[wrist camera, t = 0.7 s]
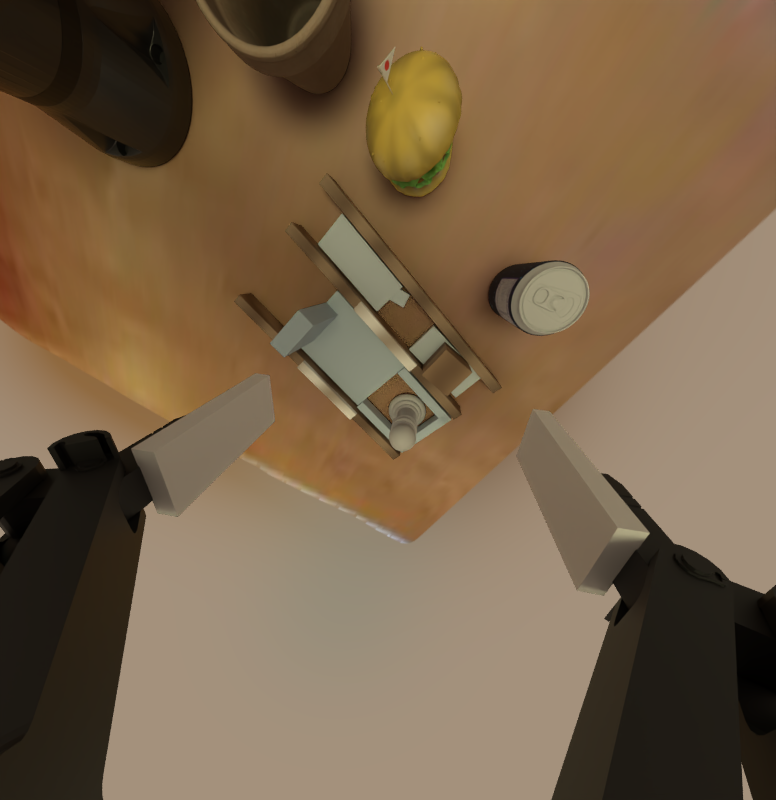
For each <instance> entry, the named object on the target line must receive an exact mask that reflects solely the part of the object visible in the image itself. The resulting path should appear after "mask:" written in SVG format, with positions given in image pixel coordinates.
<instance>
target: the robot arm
mask: <svg viewBox="0 0 776 800" xmlns="http://www.w3.org/2000/svg"><path fill="white" fill-rule="evenodd" d="M0 91H2V92H5V93H7V94H10V95H12V96H14V97H17V98H19V99H21V100H24V101H26V102H28V103H31V104H33V105H35V106H37V107H38V108H40V109H41V110H42V111H44V112H45V113H47V114H48V115H49V116H51V117H52V118H54V119H55V120H57V121H58V122H59V123H61V124H62V125H64V126H65V127H66V128H68V129H69V130H71V131H72V132H74V133H75V134H76V135H78V136H79V137H81V138H82V139H83V140H85V141H86V142H88V143H89V144H90V145H92V146H93V147H95V148H96V149H98V150H100V151H101V152H103V153H105V154H107V155H109V156H111V157H114V158H116V159H119V160H122V161H124V162H127V163H130V164H133V165H136V166H141V167H153V166H158V165H161V164H163V163H165V162H167V161H168V160H170V159H171V158H172V157H173V156H174V155H175V154H176V153H177V152H178V150H179V149H180V147H181V146H182V144H183V142H184V139H185V137H186V134H187V131H188V127H189V123H190V117H191V104H192V97H191V83H190V76H189V71H188V66H187V62H186V58H185V55H184V51H183V48H182V45H181V43H180V40H179V38H178V35H177V33H176V31H175V28H174V26H173V24H172V22H171V20H170V19H169V17H168V15H167V13H166V12H165V10H164V8H163V7H162V5H161V4H160V2H159V1H158V0H0ZM274 422H275V416H274V408H273V400H272V392H271V384H270V376H269V375H264V374H256V373H255V374H254V375H252V376H250V377H249V378H247V379H245V380H244V381H242V382H240V383H239V384H237V385H235V386H234V387H232V388H231V389H229V390H227V391H226V392H224V393H222V394H221V395H219V396H217V397H216V398H214V399H212V400H211V401H209V402H207V403H206V404H204V405H202V406H201V407H199V408H197V409H196V410H194V411H192V412H191V413H189V414H187V415H185V416H182V417H180V418H177V419H174V420H173V421H171V422H169V423H168V424H166V425H165V426H163V428H159V429H158V430H156V431H154V433H153V434H152V433H151V434H149V435H147V436H146V437H144V438H142V439H141V440H139V441H137V442H136V443H134V444H132V445H131V446H129V447H127V448H125V449H124V450H122V451H120V452H118V450H117V448H116V445H115V443H114V441H113V439H112V436H111V434H110V433H109V432H107V431H102V430H94V431H85V432H81V433H77V434H73V435H70V436H67V437H65V438H62V439H60V440H58V441H56V442H55V443H53V444H52V445H51V446H49V447H48V450H49V452H50V454H51V456H52V457H53V459H54V461H55V463H56V464H57V466H58V468H57V469H45V468H44V467H43V465H42V464H41V462H40V460H39V459H38V458H36V457H33V456H23V457H17V458H9V459H5V460H4V461H3V460H1V461H0V527H1V528H2V529H3V531H4V532H5V534H4V535H3V536H2V537H1V538H0V800H103V797H102V780H103V773H104V767H105V760H106V754H107V749H108V742H109V736H110V730H111V724H112V717H113V712H114V706H115V700H116V694H117V688H118V682H119V676H120V670H121V664H122V658H123V651H124V645H125V640H126V633H127V628H128V621H129V616H130V610H131V604H132V598H133V591H134V586H135V580H136V573H137V567H138V562H139V556H140V549H141V543H142V537H143V531H144V525H145V519H146V514H145V511H144V509H143V508H144V507H145V506H147V505H148V504H149V503H150V502H151V501H153V503H154V505H155V508H156V510H157V513H159V514H165V515H170V516H176V517H178V516H179V515H180V514H181V513H182V512H183V511H184V510H185V509H186V508H187V507H188V506H189V505H190V504H191V503H193V502H194V500H196V498H198V497H199V496H200V494H202V493H203V492H204V491H205V490H206V489H207V488H208V487H209V486H210V485H211V484H212V483H213V482H214V481H215V480H216V479H217V478H218V477H219V476H220V475H221V474H222V473H223V472H224V471H225V470H226V469H227V468H228V467H229V466H230V465H231V464H232V463H233V462H234V461H235V460H236V459H237V458H238V457H239V456H240V455H241V454H242V453H243V452H244V451H245V450H246V449H247V448H248V447H249V446H250V445H251V444H252V443H253V442H254V441H255V440H256V439H257V438H258V437H259V436H260V435H262V434H263V433H264V432H265V431H266V430H267V429H268V428H269V427H270V426H271V425H272V424H273V423H274ZM516 456H517V458H518V461H519V463H520V465H521V468H522V470H523V472H524V474H525V476H526V478H527V481H528V483H529V485H530V487H531V490H532V492H533V494H534V496H535V499H536V501H537V503H538V505H539V507H540V510H541V512H542V514H543V516H544V519H545V520H546V523H547V525H548V527H549V530H550V532H551V534H552V536H553V539H554V541H555V543H556V545H557V547H558V550H559V552H560V554H561V556H562V559H563V561H564V563H565V565H566V567H567V570H568V572H569V574H570V576H571V578H572V580H573V583H574V585H575V587H576V590H577V591H582V592H587V593H592V594H598V595H605V593H606V592H607V591H608V589H609V588H610V586H611V585H612V584H614V585H615V587H616V589H617V591H618V592H619V594H620V596H621V598H620V599H619V600H618V602H617V603H616V604H615V606H614V607H613V608H612V609H611V611H610V612H609V613H608V614H607V616H606V617H605V619H606V620H607V621H610V623H609V626H608V629H607V632H606V635H605V638H604V641H603V644H602V647H601V650H600V653H599V657H598V660H597V663H596V666H595V669H594V672H593V675H592V678H591V681H590V684H589V687H588V690H587V693H586V696H585V699H584V702H583V705H582V708H581V712H580V714H579V718H578V720H577V724H576V727H575V729H574V733H573V736H572V739H571V742H570V745H569V748H568V751H567V754H566V757H565V760H564V763H563V766H562V769H561V772H560V776H559V778H558V781H557V784H556V787H555V791H554V794H553V797H552V800H743V787H742V768H741V762H742V765H743V768H744V772H745V775H746V778H747V782H748V785H749V788H750V792H751V795H752V798H753V800H776V585H775V586H774V587H773V588H772V589H771V590H769V591H768V592H767V593H766V594H763V593H760V592H757V591H755V590H752V589H750V588H747V587H744V586H742V585H739V584H737V583H734V582H731V581H730V580H729V579H728V578H727V577H726V576H725V574H724V573H723V572H722V571H721V570H720V569H719V568H718V567H717V566H715V565H714V564H713V563H712V562H710V561H709V560H708V559H706V558H705V557H703V556H701V555H700V554H698V553H697V552H695V551H693V550H690V549H688V548H686V547H683V546H681V545H676V544H674V543H673V542H672V541H671V540H670V539H669V537H668V536H667V535H666V534H665V533H664V532H663V531H662V529H661V528H660V527H659V526H658V525H657V524H656V523H655V522H654V520H653V519H652V518H651V517H650V516H649V515H648V514H647V512H646V511H645V510H644V509H641V506H640V505H639V503H638V502H637V501H636V500H635V499H633V498H632V495H631V494H630V493H629V492H628V491H627V490H626V489H625V487H624V486H623V485H622V484H620V483H619V482H618V481H616V480H615V479H614V478H612V477H611V476H609V475H608V474H602V473H600V472H599V471H598V469H597V468H596V467H595V466H594V465H593V463H592V462H591V461H590V460H589V458H588V457H587V456H586V455H585V454H584V452H583V451H582V450H581V449H580V448H579V446H578V445H577V444H576V443H575V442H574V440H573V439H572V438H571V437H570V435H569V434H568V433H567V432H566V430H564V428H563V427H562V426H561V424H560V423H559V422H558V421H557V420H556V418H555V417H554V416H553V415H552V413H551V412H550V411H544V410H536V409H533V410H532V413H531V416H530V418H529V421H528V424H527V427H526V430H525V433H524V435H523V438H522V441H521V444H520V447H519V450H518V452H517V455H516Z"/></svg>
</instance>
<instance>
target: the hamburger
mask: <svg viewBox="0 0 776 800" xmlns="http://www.w3.org/2000/svg"><path fill="white" fill-rule="evenodd" d="M394 51H395V47H394V49H393V50H392V51H391V52H390V53H389V55H388V56H387V57H386V58H385V60H384V61H383V62H382V63H381V64H380V66H379V65H378V66H377V68H378V70H379V71H380V73H381V75H382V77H381V79H380V80H379V82H378V84H377V86H375V90H374V92H373V94H372V95H371V101H370V104H369V108H368V113H367V118H366V140H367V145H368V149H369V153H370V155H371V158H372V160H373V162H374V164H375V165H376V167H377V169H378V170H379V171H380V172H381V173H382V174H383V175H384V177H385V178H387V179H389V180H390V182H391V184H393V185H394V187H395V188H396V190H397V191H399V192H401V193H403V194H404V195H408V196H412V197H416V196H418V197H422V196H424V195H426V194H429V193H431V192H432V191H433V189H435V188H436V187H437V186H438V185H439V184H440V183H441V182H442V181H443V180H444V178H445V176H446V172H447V170H448V169H449V164H450V159H451V153H452V146H453V143H452V141H453V138H454V135H455V132H456V129H457V126H458V122H459V119H460V116H461V104H462V94H461V90H460V88H459V83H458V79H457V76H456V75H455V73H454V71H453V69H452V68H451V66H450V64H449V63H448V62H447V61H446V60H445V59H444V58H443V57H441V56H440V55H438V54H437V53H436V52H435V53H434V52H432V51H425V50H423V47H421V48H420V51H414V52H411V53H408V54H406V55H404V56H402V57H401V58H400V59H398V60H397V61H395V62H394V63H393V64H392V59H393V55H394ZM391 64H392V65H391Z"/></svg>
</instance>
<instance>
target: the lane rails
mask: <svg viewBox="0 0 776 800" xmlns="http://www.w3.org/2000/svg"><path fill="white" fill-rule="evenodd" d="M319 184H320V185H321V186H322V187H323V189H324V190H325V191H326V192H327V194H328V195H329V196H330V197H331V198H332V200H333V201H334V202H335V203H336V204H337V206H338V207H339V208H340V209H341V210H342V212H343V213H344V214H345V215H346V216H347V218H348V219H349V220H350V221H351V223H352V224H353V225H354V226H355V227H356V229H357V230H358V231H359V232H360V233H361V235H362V236H363V237H364V238H365V239H366V241H367V242H368V243H369V244H370V245H371V247H372V248H373V249H374V250H375V251H376V253H377V254H378V255H379V256H380V258H381V259H382V260H383V261H384V262H385V264H386V265H387V266H388V267H389V268H390V270H391V271H392V272H393V273H394V274H395V276H396V277H397V278H398V279H399V280H400V282H401V283H402V284H403V285H404V286H405V288H406V289H407V290H408V291H409V293H410V294H411V295H412V296H413V297H414V299H415V300H416V301H417V302H418V303H419V305H420V306H421V307H422V308H423V309H424V311H425V312H426V313H427V314H428V315H429V317H430V318H431V319H432V320H433V322H434V323H435V324H436V325H437V326H438V328H439V329H440V330H441V331H442V332H443V334H444V335H445V336H446V337H447V338H448V340H449V341H450V342H451V343H452V344H453V346H454V347H455V348H456V349H457V350H458V352H459V353H460V354H461V355H462V357H463V358H464V359H465V360H466V361H467V363H468V364H469V365H470V366H471V367H472V369H473V370H474V371H475V372H476V373H477V375H478V376H479V377H480V378H481V379H482V381H483V382H484V383H485V384H486V386H487V387H488V388H489V389H490V390H491V392H492V393H495V392H496V391H498V390H499V389H501V386H500V384H499V383H498V381H497V380H496V378H495V377H494V376H493V375H492V373H491V372H490V371H489V370H488V369H487V367H486V366H485V365H484V364H483V362H482V361H481V360H480V359H479V357H478V356H477V355H476V354H475V353H474V351H473V350H472V349H471V348H470V346H469V345H468V344H467V343H466V341H465V340H464V339H463V338H462V337H461V335H460V334H459V333H458V332H457V330H456V329H455V328H454V327H453V325H452V324H451V323H450V322H449V321H448V319H447V318H446V317H445V316H444V314H443V313H442V312H441V311H440V309H439V308H438V307H437V306H436V305H435V303H434V302H433V301H432V300H431V298H430V297H429V296H428V295H427V293H426V292H425V291H424V290H423V289H422V287H421V286H420V285H419V284H418V282H417V281H416V280H415V279H414V277H413V276H412V275H411V274H410V273H409V271H408V270H407V269H406V268H405V266H404V265H403V264H402V263H401V261H400V260H399V259H398V258H397V257H396V255H395V254H394V253H393V252H392V250H391V249H390V248H389V247H388V245H387V244H386V243H385V242H384V241H383V239H382V238H381V237H380V236H379V234H378V233H377V232H376V231H375V229H374V228H373V227H372V226H371V225H370V223H369V222H368V221H367V220H366V218H365V217H364V216H363V215H362V213H361V212H360V211H359V210H358V208H357V207H356V206H355V205H354V204H353V202H352V201H351V200H350V199H349V197H348V196H347V195H346V194H345V192H344V191H343V190H342V189H341V188H340V186H339V185H338V184H337V183H336V181H335V180H334V179H333V178H332V177H330V176H329V175H328V174H327V173H326V175H325V176H324V177H323V179H322V180H321V182H320V183H319ZM285 232H286V233H287V234H288V235H289V236H290V237H291V238H292V239H293V240H294V242H295V243H296V244H297V245H298V246H299V247H300V248H301V249H302V251H303V252H304V253H305V254H306V255H307V256H308V257H309V258H310V259H311V261H312V262H313V263H314V264H315V265H316V266H317V267H318V268H319V270H320V271H321V272H322V273H323V274H324V275H325V276H326V277H327V278H328V280H329V281H330V282H331V283H332V284H333V285H334V286H335V287H336V288H337V290H338V291H339V292H340V293H341V294H342V295H343V296H344V297H345V299H346V300H347V301H348V302H349V303H350V304H351V305H352V306H353V307H354V309H353V310H354V311H355V312H356V313H357V314H358V315H359V316H360V318H361V319H362V320H363V321H364V322H365V323H366V324H367V325H368V326H369V328H370V329H371V330H372V331H373V332H374V333H375V334H376V335H377V337H378V338H379V339H380V340H381V341H382V342H383V343H384V344H385V345H386V347H387V348H388V349H389V350H390V351H391V352H392V353H393V354H394V355H395V357H396V358H397V359H398V360H399V361H400V362H401V363H402V364H403V365H404V367H405V368H406V369H407V370H408V371H409V372H410V371H411V372H412V373H413V374H414V376H415V377H416V378H417V379H418V380H419V381H420V382H421V383H422V384H423V386H424V387H425V388H426V389H427V390H428V391H429V392H430V393H431V394H432V396H433V397H434V398H435V399H436V400H437V401H438V402H439V403H440V405H441V406H442V407H443V408H444V409H445V410H446V411H447V412H448V413H449V415H450V416H451V417H452V418H453V419H456V418H457V417H459V416H460V415H461V410H460V406H459V405H458V404H457V403H456V401H455V400H454V399H453V398H452V397H451V396H450V395H448V396H446V395H445V394H443V393H442V392H441V391H440V390H439V389H438V388H436V387H435V386H434V385H433V384H432V383H431V382H429V381H428V380H427V379H426V378H425V377H423V376H422V369H423V364H422V363H421V362H420V360H419V359H418V358H417V357H416V356H415V355H414V354H413V353H412V352H411V351H410V350H409V348H408V347H407V346H406V344H405V343H404V342H403V341H402V340H401V339H400V338H399V336H398V335H397V334H396V333H395V332H394V331H393V330H392V328H391V327H390V326H389V325H388V324H387V323H386V322H385V320H384V319H383V318H382V317H381V316H380V315H379V314H378V312H377V311H376V310H375V309H374V308H373V307H372V306H371V304H370V303H369V302H368V301H367V300H366V299H365V298H364V297H363V295H362V294H361V293H360V292H359V291H358V290H357V289H356V287H355V286H354V285H353V284H352V283H351V282H350V281H349V279H348V278H347V277H346V276H345V275H344V274H343V273H342V271H341V270H340V269H339V268H338V267H337V266H336V265H335V263H334V262H333V261H332V260H331V259H330V258H329V257H328V255H327V254H326V253H325V252H324V251H323V250H322V249H321V247H320V246H319V245H318V244H317V243H316V242H315V241H314V239H313V238H312V237H311V236H310V235H309V234H308V233H307V231H306V230H305V229H304V228H303V227H302V226H301V225H298V224H295V223H293V222H291V223H290V225H289V226H288V228H287V229H286V230H285ZM234 302H235V303H236V304H237V305H238V306H239V307H240V308H241V309H242V310H243V311H244V312H245V313H246V314H247V315H248V316H249V317H250V318H251V319H252V320H253V321H254V322H255V323H256V324H257V325H258V326H259V327H260V328H261V329H262V330H263V331H264V332H265V333H266V334H267V335H268V336H269V337H270V338H271V339H272V340H273V339H274V338H275V337H276V336H277V334H278V333H279V332H280V331H281V330H282V329H283V327H284V326H283V325H282V324H281V323H280V322H279V321H278V320H277V319H276V318H275V317H274V316H273V315H272V314H271V313H270V312H269V311H268V310H267V309H266V308H265V307H264V306H263V305H262V304H261V303H260V302H259V301H258V300H257V299H256V298H255V297H254V296H253V295H252V294H243V295H239V296H238V297H237V299H236V300H235V301H234ZM289 356H290V357H291V358H292V359H293V360H294V361H295V362H296V363H297V364H298V365H299V366H298V367H297V368H298V369H299V370H300V371H301V372H302V373H303V374H304V375H305V376H306V377H307V378H308V379H309V380H310V381H311V382H312V383H313V384H314V385H315V386H316V387H317V388H318V389H319V390H320V391H321V392H322V393H323V394H324V395H325V396H326V397H327V398H328V399H329V400H330V401H331V402H333V403H334V404H335V405H336V406H337V407H338V408H339V409H340V410H341V411H342V412H343V413H344V414H345V415H346V416H347V417H348V418H349V419H350V420H351V419H353V420H354V421H355V422H356V423H357V424H358V425H359V426H360V427H361V428H362V429H363V430H364V431H365V432H366V433H367V434H368V435H369V436H370V437H371V438H372V439H373V440H374V441H375V442H376V443H377V444H378V445H379V446H380V447H381V448H382V449H383V450H384V451H385V452H386V453H387V454H388V455H389V456H390V457H391V458H392V459H393V460H394V459H395V458H397V457H398V456H400V451H398V450H396V449H394V448H393V447H392V445H391V444H390V441H389V439H388V438H387V437H386V436H385V435H384V434H383V433H382V432H381V431H380V430H379V429H378V428H377V427H376V426H375V425H374V424H373V423H372V422H371V421H370V420H369V419H368V418H367V417H366V416H365V415H364V414H363V413H362V412H361V411H360V410H359V409H358V408H357V406H358V405H357V404H356V403H355V402H354V401H353V400H352V399H351V398H350V397H349V396H348V395H347V394H346V393H345V392H344V391H343V390H342V389H341V388H340V387H339V386H338V385H337V384H336V383H335V382H334V381H333V380H332V379H331V378H330V377H329V376H328V375H327V374H326V373H325V372H324V371H323V370H322V369H321V368H320V367H319V366H318V365H317V364H316V363H315V362H314V361H313V360H312V358H311V357H310V356H309V355H308V354H307V353H306V352H305V351H304V350H303V349H302V348H300V349H298V350H297V351H295V352H293V353H291V354H290V355H289Z"/></svg>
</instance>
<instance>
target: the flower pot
mask: <svg viewBox="0 0 776 800" xmlns="http://www.w3.org/2000/svg"><path fill="white" fill-rule="evenodd" d="M350 1H351V0H196V2H197V4H198V6H199V8H200V9H201V11H202V13H203V14H204V16H205V17H206V19H207V20H208V22H209V23H210V25H211V26H212V28H213V29H214V30H215V31H216V33H217V34H218V35H219V36H220V37H221V38H222V39H223V40H224V42H226V43H227V44H228V46H229V47H230V48H231V49H232V50H233V51H234V52H235V53H236V54H237V55H238V56H239V57H240V58H241V59H242V60H243V61H244V62H245V63H246V64H248V65H249V66H251V67H252V68H254V69H255V70H257V71H259V72H261V73H264V74H266V75H270V76H275V77H284V78H286V79H287V80H289V81H290V82H292V83H293V84H295V85H297V86H298V87H300V88H302V89H304V90H306V91H308V92H310V93H314V94H323V93H326V92H328V91H330V90H332V89H333V88H334V87H335V86H336V85H338V83H339V82H340V81H341V79H342V78H343V76H344V74H345V72H346V69H347V67H348V63H349V59H350V52H351V15H350Z"/></svg>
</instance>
